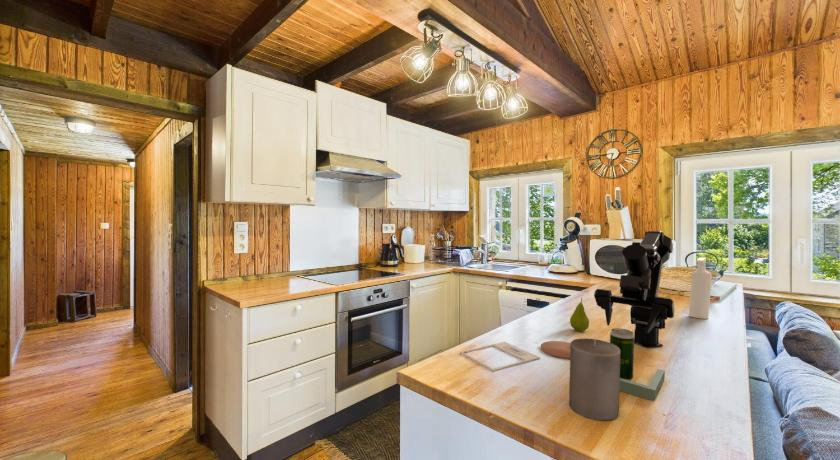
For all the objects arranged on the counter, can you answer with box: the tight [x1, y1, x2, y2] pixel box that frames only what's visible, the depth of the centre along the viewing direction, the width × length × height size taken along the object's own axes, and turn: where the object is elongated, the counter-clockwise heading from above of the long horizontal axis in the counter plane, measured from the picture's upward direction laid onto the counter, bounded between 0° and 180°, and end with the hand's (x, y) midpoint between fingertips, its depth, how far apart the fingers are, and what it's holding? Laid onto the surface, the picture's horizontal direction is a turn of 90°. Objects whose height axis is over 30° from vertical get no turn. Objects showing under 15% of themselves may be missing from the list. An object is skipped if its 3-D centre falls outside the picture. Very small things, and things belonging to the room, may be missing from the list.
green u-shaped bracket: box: [620, 368, 666, 402], centre depth 90 cm, size 14×17×2 cm
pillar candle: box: [568, 337, 621, 421], centre depth 75 cm, size 10×10×15 cm
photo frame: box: [459, 341, 541, 373], centre depth 104 cm, size 15×1×18 cm
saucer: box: [540, 340, 571, 360], centre depth 108 cm, size 13×13×1 cm
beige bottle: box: [688, 257, 713, 320], centre depth 148 cm, size 7×12×25 cm, turn 131°
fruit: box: [569, 297, 590, 332], centre depth 128 cm, size 6×6×12 cm
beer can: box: [609, 327, 635, 381], centre depth 90 cm, size 5×5×12 cm
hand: (626, 328), depth 94 cm, fingers open, 9 cm apart
